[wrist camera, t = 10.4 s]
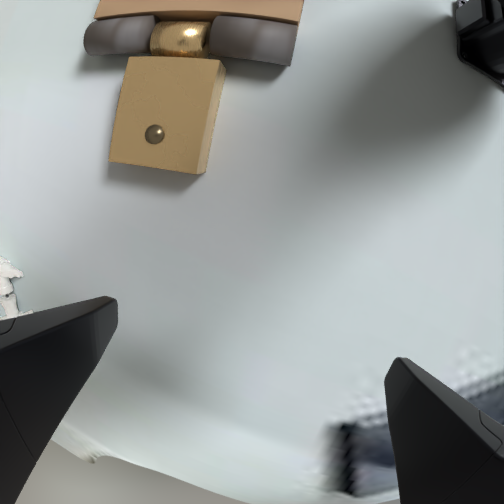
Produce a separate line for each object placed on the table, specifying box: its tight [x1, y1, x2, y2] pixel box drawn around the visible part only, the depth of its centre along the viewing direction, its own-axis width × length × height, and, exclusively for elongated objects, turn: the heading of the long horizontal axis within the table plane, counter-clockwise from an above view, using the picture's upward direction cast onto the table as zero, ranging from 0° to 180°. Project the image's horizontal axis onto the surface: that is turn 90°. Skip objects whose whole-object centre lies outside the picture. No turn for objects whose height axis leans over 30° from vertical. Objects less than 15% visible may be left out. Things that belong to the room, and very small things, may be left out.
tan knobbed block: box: [109, 21, 227, 174], centre depth 16 cm, size 10×6×3 cm, turn 168°
